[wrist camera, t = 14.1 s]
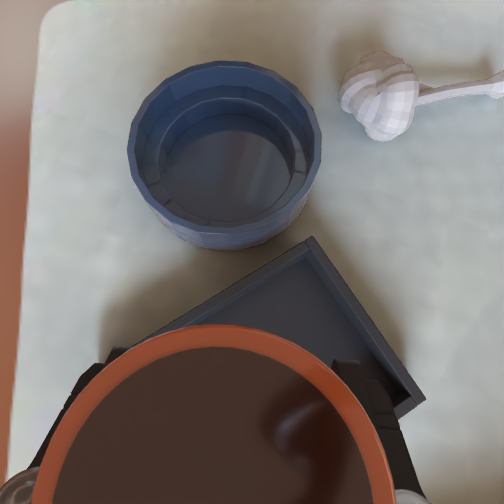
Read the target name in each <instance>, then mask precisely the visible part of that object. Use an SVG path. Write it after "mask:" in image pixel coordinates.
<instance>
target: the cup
mask: <svg viewBox="0 0 504 504" xmlns="http://www.w3.org/2000/svg"><path fill="white" fill-rule="evenodd" d="M31 504H397V500H396V494H395V489H394V483H393V477H392V474H391V471H390V467H389V464H388V461H387V457H386V454H385V451H384V449H383V446H382V444H381V441H380V439H379V437H378V434H377V432H376V430H375V428H374V426H373V424H372V422H371V421H370V419H369V417H368V415H367V414H366V412H365V410H364V408H363V407H362V405H361V404H360V403H359V401H358V400H357V398H356V397H355V396H354V394H353V393H352V392H351V390H350V389H349V388H348V386H347V385H346V384H345V383H344V382H343V381H342V380H341V379H340V378H339V377H338V376H337V375H336V374H335V373H334V372H333V371H332V370H331V369H330V368H329V367H328V366H326V365H325V364H324V363H323V362H322V361H320V360H319V359H318V358H317V357H315V356H314V355H313V354H311V353H309V352H308V351H306V350H305V349H303V348H302V347H300V346H298V345H297V344H295V343H293V342H291V341H289V340H286V339H284V338H282V337H280V336H278V335H275V334H272V333H269V332H266V331H263V330H259V329H256V328H251V327H245V326H239V325H230V324H207V325H197V326H190V327H185V328H181V329H177V330H173V331H169V332H166V333H164V334H161V335H158V336H156V337H153V338H150V339H148V340H147V341H145V342H143V343H141V344H139V345H137V346H135V347H133V348H131V349H130V350H128V351H127V352H125V353H124V354H122V355H121V356H120V357H118V358H117V359H115V360H114V361H112V362H111V363H110V364H109V365H108V366H107V367H105V368H104V369H103V370H102V371H101V372H100V373H99V374H98V375H97V376H95V377H94V378H93V379H92V380H91V382H90V383H89V384H88V385H87V386H86V387H85V388H84V390H83V391H82V392H81V393H80V394H79V395H78V396H77V398H76V399H75V401H74V402H73V403H72V405H71V406H70V408H69V409H68V411H67V412H66V413H65V415H64V416H63V418H62V420H61V422H60V424H59V425H58V427H57V429H56V431H55V433H54V435H53V437H52V438H51V440H50V443H49V445H48V448H47V450H46V453H45V455H44V458H43V460H42V463H41V465H40V468H39V472H38V475H37V479H36V482H35V486H34V490H33V494H32V500H31Z"/></svg>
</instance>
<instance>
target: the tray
mask: <svg viewBox="0 0 504 504" xmlns="http://www.w3.org/2000/svg"><path fill="white" fill-rule="evenodd" d="M207 324H230V325H239V326H245V327H251V328H256V329H259V330H263V331H266V332H269V333H272V334H275V335H278V336H280V337H282V338H284V339H286V340H289V341H291V342H293V343H295V344H297V345H298V346H300V347H302V348H303V349H305V350H306V351H308V352H309V353H311V354H313V355H314V356H315V357H317V358H318V359H319V360H320V361H322V362H323V363H324V364H325V365H326V366H328V367H329V368H330V369H331V366H332V362H333V360H334V359H341V360H358V361H359V362H360V364H361V367H362V370H363V374H364V377H365V379H370V380H378V382H379V383H380V384H381V385H382V387H383V388H384V389H385V390H386V392H387V393H388V394H389V396H390V399H391V402H392V405H393V408H394V411H395V416H397V419H400V418H401V417H403V416H404V415H405V414H407V413H408V412H410V411H411V410H412V409H414V408H415V407H417V406H418V405H419V404H421V403H422V402H423V401H425V400H426V397H425V396H424V394H423V393H422V392H421V390H420V389H419V387H418V386H417V384H416V383H415V381H414V380H413V379H412V377H411V376H410V374H409V373H408V371H407V370H406V369H405V367H404V366H403V364H402V363H401V361H400V360H399V359H398V357H397V356H396V354H395V353H394V351H393V350H392V349H391V347H390V346H389V344H388V343H387V341H386V340H385V338H384V337H383V336H382V334H381V333H380V331H379V330H378V328H377V327H376V326H375V324H374V323H373V321H372V320H371V318H370V317H369V316H368V314H367V313H366V311H365V310H364V308H363V307H362V305H361V304H360V303H359V301H358V300H357V298H356V297H355V295H354V294H353V293H352V291H351V290H350V288H349V287H348V285H347V284H346V283H345V281H344V280H343V278H342V277H341V275H340V274H339V273H338V271H337V270H336V268H335V267H334V265H333V264H332V262H331V261H330V260H329V258H328V257H327V255H326V254H325V252H324V251H323V250H322V248H321V247H320V245H319V244H318V242H317V241H316V240H315V238H314V237H313V236H311V237H309V238H308V239H306V240H305V241H303V242H301V243H300V244H298V245H296V246H295V247H293V248H292V249H290V250H288V251H287V252H285V253H283V254H282V255H280V256H279V257H277V258H275V259H274V260H272V261H270V262H269V263H267V264H265V265H264V266H262V267H261V268H259V269H257V270H256V271H254V272H252V273H251V274H249V275H248V276H246V277H244V278H243V279H241V280H239V281H238V282H236V283H235V284H233V285H231V286H230V287H228V288H226V289H225V290H223V291H222V292H220V293H218V294H217V295H215V296H213V297H212V298H210V299H208V300H207V301H205V302H204V303H202V304H200V305H199V306H197V307H195V308H194V309H192V310H191V311H189V312H187V313H186V314H184V315H182V316H181V317H179V318H178V319H176V320H174V321H173V322H171V323H169V324H168V325H166V326H164V327H163V328H161V329H160V330H158V331H156V332H155V333H153V334H151V335H150V336H148V337H147V338H145V339H143V340H142V341H140V342H138V343H137V344H135V345H134V346H132V347H135V346H137V345H139V344H141V343H143V342H145V341H147V340H148V339H150V338H153V337H156V336H158V335H161V334H164V333H166V332H169V331H173V330H177V329H181V328H185V327H190V326H197V325H207ZM104 364H105V363H104Z"/></svg>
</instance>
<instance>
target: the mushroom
mask: <svg viewBox="0 0 504 504" xmlns="http://www.w3.org/2000/svg"><path fill="white" fill-rule="evenodd" d="M475 94H488V95H489V96H491V97H492V98H494V99H498V98H501V97H503V96H504V70H503V71H501V72H499V73H497V74H496V75H494V76H493V77H491V78H490V79H486V80H479V81H472V82H465V83H458V84H452V85H446V86H442V87H438V88H431V87H428V86H425V85H423V84H420V83H419V80H418V77H417V75H416V74H415V73H413V71H412V68H411V66H410V65H407V64H404V61H403V59H400V58H398V57H395V56H392V55H390V54H388V53H386V52H384V51H379V52H372V53H370V54H368V55H367V56H365V57H363V58H361V60H360V61H359V63H358V65H357V66H356V67H354V68H353V69H351V70H349V71H348V72H347V73H346V75H345V76H344V78H343V81H342V85H341V89H340V91H339V93H338V101H339V103H340V105H341V107H342V109H343V110H344V111H346V112H348V113H351V114H353V116H354V117H355V119H356V120H357V121H359V122H360V123H361V124H362V125H363V127H364V130H365V132H366V135H367V136H369V137H370V138H372V139H374V140H377V141H380V142H382V141H389V140H392V139H394V138H395V137H396V136H398V135H399V134H402V133H403V132H404V131H406V130H407V129H408V127H409V126H410V124H411V122H412V120H413V117H414V110H415V107H416V106H420V105H424V104H428V103H432V102H436V101H439V100H443V99H447V98H453V97H459V96H467V95H475Z"/></svg>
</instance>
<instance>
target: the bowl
mask: <svg viewBox="0 0 504 504" xmlns="http://www.w3.org/2000/svg"><path fill="white" fill-rule="evenodd" d="M321 139H322V135H321V131H320V128H319V125H318V122H317V119H316V116H315V113H314V110H313V108H312V106H311V105H310V104H309V103H308V101H307V100H306V99H305V97H304V96H303V95H302V93H301V92H300V91H299V90H298V88H297V87H296V86H295V85H293V84H292V83H290V82H289V81H287V80H286V79H284V78H283V77H282V76H280V75H279V74H277V73H276V72H274V71H272V70H269V69H266V68H263V67H260V66H257V65H254V64H251V63H248V62H236V61H214V62H209V63H204V64H200V65H195V66H191V67H188V68H186V69H184V70H183V71H181V72H179V73H177V74H175V75H173V76H171V77H169V78H167V79H165V80H164V81H163V82H162V83H161V84H160V85H159V86H158V87H157V88H156V89H155V90H154V91H152V92H151V93H150V94H149V95H148V96H147V97H146V98H145V99H144V101H143V103H142V105H141V107H140V108H139V110H138V112H137V114H136V116H135V117H134V119H133V121H132V123H131V129H130V134H129V140H128V146H127V154H128V160H129V165H130V171H131V176H132V179H133V180H134V182H135V184H136V185H137V187H138V189H139V191H140V192H141V194H142V196H143V197H144V199H145V201H146V202H147V204H148V205H149V206H150V208H151V209H152V210H153V212H154V213H155V214H156V216H157V217H158V218H159V220H160V221H161V222H162V223H163V224H164V225H165V226H167V227H168V228H169V229H170V230H171V231H173V232H174V233H175V234H176V235H177V236H179V237H180V238H182V239H183V240H186V241H188V242H191V243H193V244H196V245H198V246H201V247H203V248H207V249H216V250H231V251H234V250H240V249H244V248H248V247H253V246H257V245H261V244H263V243H265V242H267V241H268V240H270V239H272V238H273V237H275V236H277V235H278V234H280V233H282V232H283V231H285V229H287V228H288V227H289V225H290V224H291V223H292V222H293V221H294V220H295V218H296V217H297V216H298V215H299V214H300V213H301V211H302V209H303V208H304V206H305V203H306V201H307V198H308V196H309V193H310V190H311V188H312V185H313V182H314V180H315V177H316V174H317V171H318V168H319V166H320V163H321Z"/></svg>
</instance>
